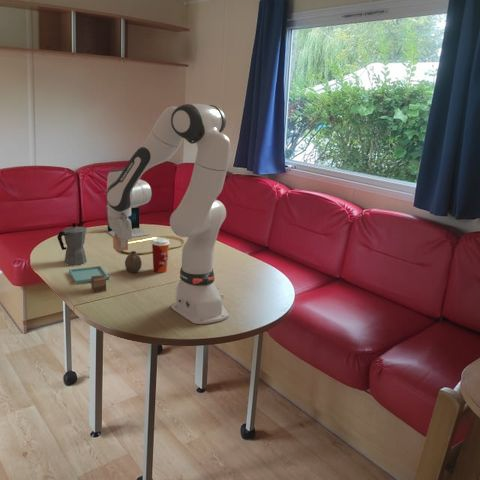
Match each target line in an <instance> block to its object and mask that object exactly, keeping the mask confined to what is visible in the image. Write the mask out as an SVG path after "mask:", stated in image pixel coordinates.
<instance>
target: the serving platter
mask: <svg viewBox="0 0 480 480" xmlns="http://www.w3.org/2000/svg"><path fill="white" fill-rule="evenodd" d="M154 238H166V239H168V240H175V241H178V242H179V243H180V244H179V245H175V246H171V247H170V246H169V249H168V250H172V249H177V248H180V247H182V246H184V244H185V240H184V239H183V238H182V237H179V236H174V235H173V236H172V235H157V236H152V237H151V236H150V237H146V238H145V237H144V238H140V239H134V240H133V239H132V240H128V245H133V244H138V243H143V242H149V241H150V242H151V241H152V240H153V239H154ZM121 252H122V253H124V254H127V255H129V254H130V252H131V251H127V250H123V251H121ZM136 253H137V254H138V256H140V255H147V254H153V250H151V251H145V252H144V251H143V252H136Z"/></svg>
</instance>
